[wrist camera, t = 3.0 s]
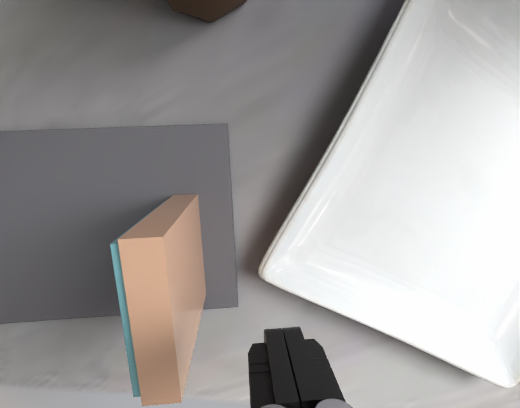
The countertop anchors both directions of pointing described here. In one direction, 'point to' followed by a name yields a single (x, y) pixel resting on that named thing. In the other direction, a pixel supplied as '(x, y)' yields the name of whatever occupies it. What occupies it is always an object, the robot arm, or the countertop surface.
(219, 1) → the beer bottle
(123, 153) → the mat
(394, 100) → the square plate
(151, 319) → the tile
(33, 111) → the countertop surface
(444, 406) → the countertop surface
